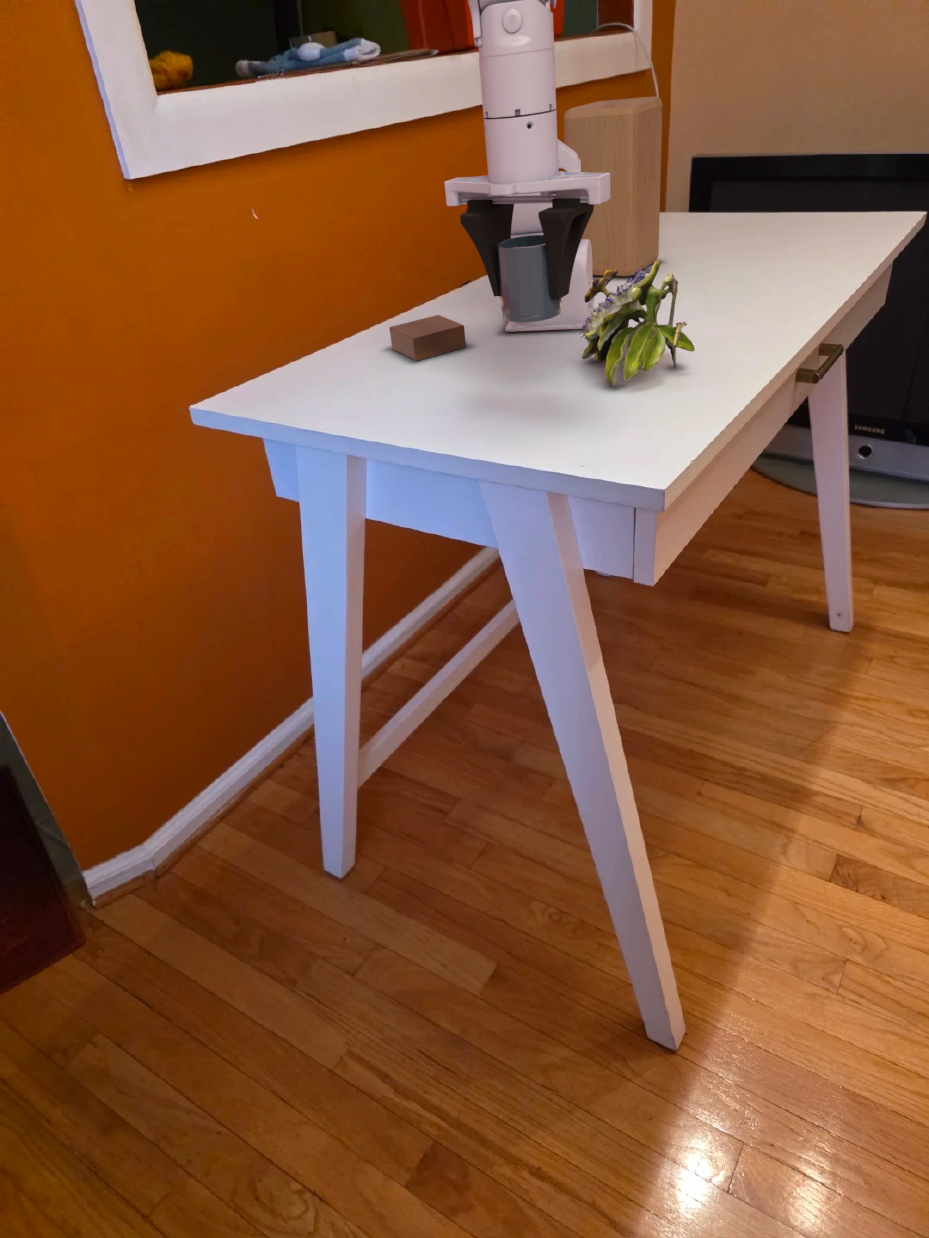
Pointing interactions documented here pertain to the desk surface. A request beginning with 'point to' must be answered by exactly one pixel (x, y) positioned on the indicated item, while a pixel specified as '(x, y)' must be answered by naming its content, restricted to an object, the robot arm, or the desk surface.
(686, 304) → the desk surface
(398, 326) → the block
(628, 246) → the wooden block
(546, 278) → the cup
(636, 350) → the passion flower
